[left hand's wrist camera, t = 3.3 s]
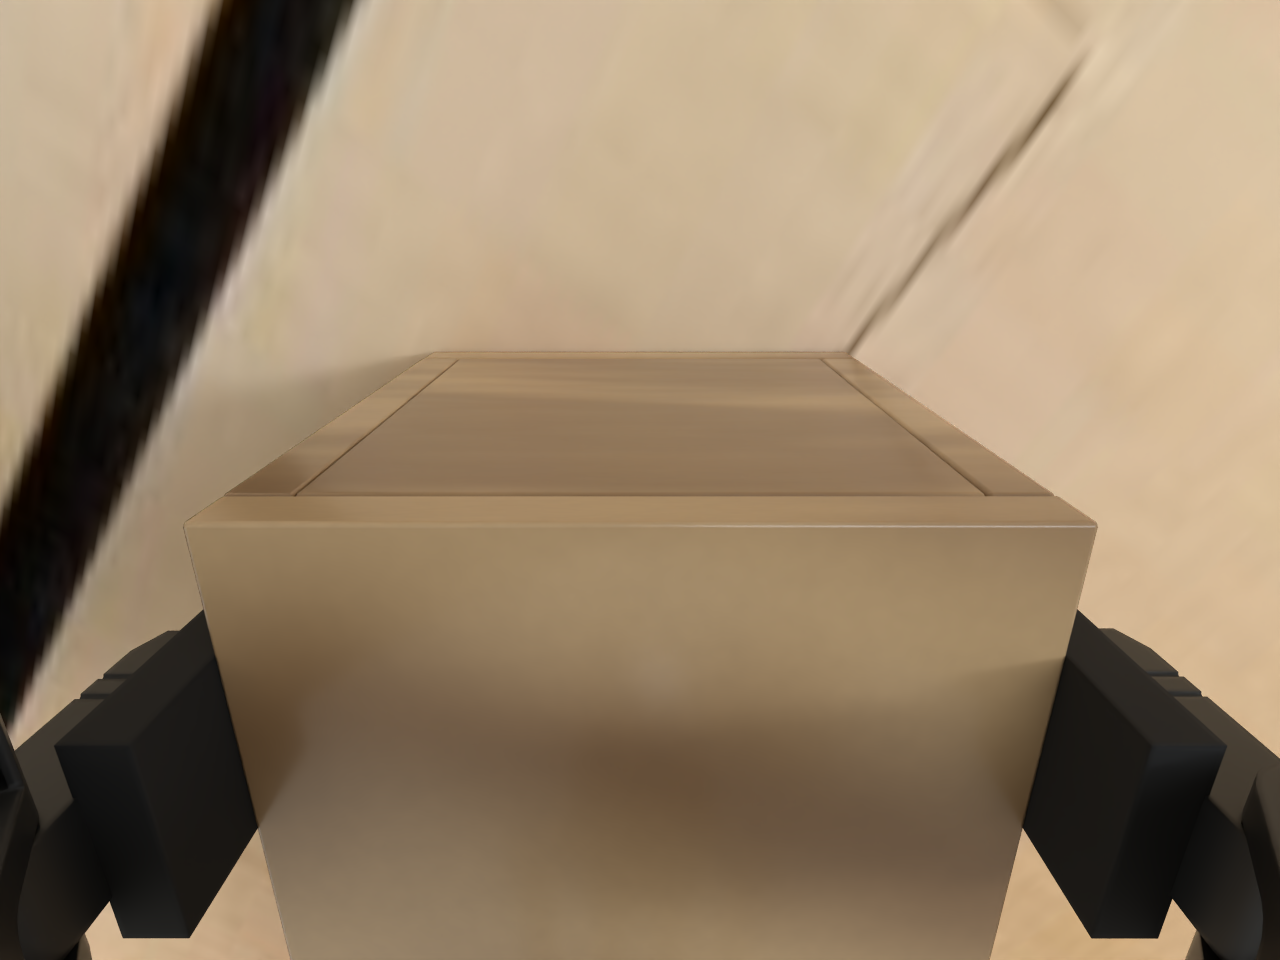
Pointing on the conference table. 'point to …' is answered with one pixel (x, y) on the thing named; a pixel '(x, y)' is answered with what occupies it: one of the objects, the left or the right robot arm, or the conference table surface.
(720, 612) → the cabinet
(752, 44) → the conference table surface
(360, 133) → the conference table surface
